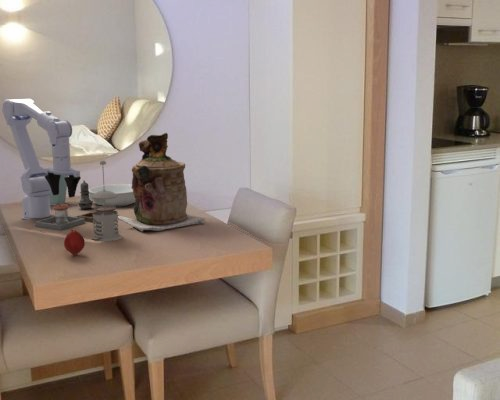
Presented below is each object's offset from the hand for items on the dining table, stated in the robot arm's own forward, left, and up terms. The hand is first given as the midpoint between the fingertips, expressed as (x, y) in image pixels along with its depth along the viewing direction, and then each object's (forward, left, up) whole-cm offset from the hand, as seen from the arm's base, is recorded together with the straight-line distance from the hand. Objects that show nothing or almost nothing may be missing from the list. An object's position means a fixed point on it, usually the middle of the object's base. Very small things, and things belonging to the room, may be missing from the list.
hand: (63, 195), depth 211 cm
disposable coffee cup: (-28, +24, -11) cm, 39 cm away
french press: (+23, -5, -11) cm, 26 cm away
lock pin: (+1, -2, -10) cm, 10 cm away
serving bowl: (-6, +34, -11) cm, 36 cm away
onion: (+29, -25, -11) cm, 40 cm away
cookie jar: (+27, +19, -11) cm, 35 cm away
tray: (+1, -3, -10) cm, 11 cm away
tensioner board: (+3, +11, -10) cm, 15 cm away
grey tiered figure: (-9, +20, -11) cm, 24 cm away
